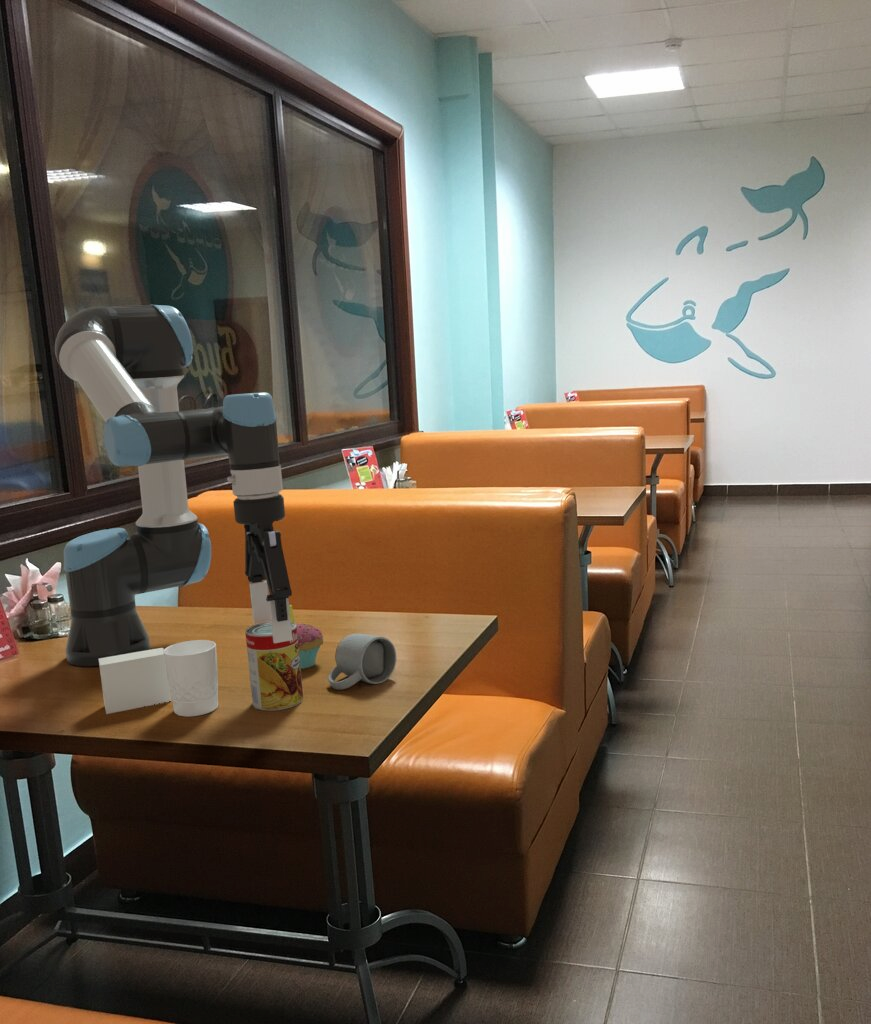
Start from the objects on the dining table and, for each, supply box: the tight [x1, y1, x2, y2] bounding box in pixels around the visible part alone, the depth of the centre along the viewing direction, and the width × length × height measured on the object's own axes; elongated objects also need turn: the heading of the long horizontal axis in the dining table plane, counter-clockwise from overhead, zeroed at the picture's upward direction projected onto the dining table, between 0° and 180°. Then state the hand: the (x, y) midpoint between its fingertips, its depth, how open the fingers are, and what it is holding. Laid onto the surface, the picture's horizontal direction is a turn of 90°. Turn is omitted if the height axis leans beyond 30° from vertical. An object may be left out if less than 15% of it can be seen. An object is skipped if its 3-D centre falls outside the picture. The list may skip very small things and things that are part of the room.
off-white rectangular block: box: [99, 647, 173, 715], centre depth 151 cm, size 4×10×8 cm, turn 113°
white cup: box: [163, 639, 219, 718], centre depth 147 cm, size 8×8×10 cm
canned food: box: [244, 621, 304, 712], centre depth 148 cm, size 8×8×12 cm
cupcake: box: [289, 601, 324, 670], centre depth 165 cm, size 9×8×12 cm
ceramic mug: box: [327, 633, 397, 691], centre depth 155 cm, size 11×8×8 cm
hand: (272, 631), depth 147 cm, fingers open, 13 cm apart
